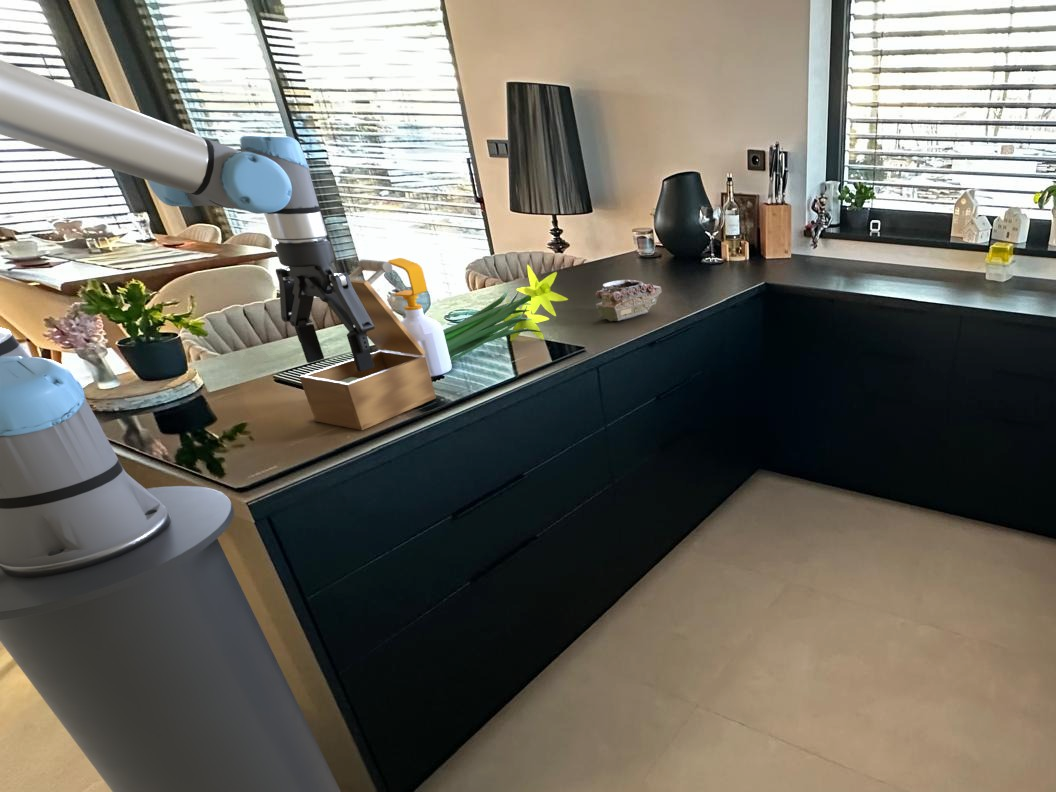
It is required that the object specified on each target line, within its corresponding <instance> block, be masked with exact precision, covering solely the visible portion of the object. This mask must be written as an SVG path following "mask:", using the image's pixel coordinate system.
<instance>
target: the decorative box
mask: <svg viewBox="0 0 1056 792" xmlns="http://www.w3.org/2000/svg"><path fill="white" fill-rule="evenodd" d="M662 291H663V290H662V287H661V286H658V285H655V284H653V283H648V284H646V283H644V282H643V281H641V280H638V279H637V280H636V279H618V280H613V281H608V282H605V283H603V284H602V289H601V290H597V291H595V295H594V296H595V298H596V299H598V300H601V302H598V303H596V304H595V306H596V309H597V311H598V313H599V316H600V318H601V319H603V320H608V321H609V322H613V321H615V322H619V321H623V320H629V319H632V318H635V317H638V316H641V315H644V314H648V313H649V310H650V308H651V307H652V306H655V305H656V304H657V300H658V298H659V296H660V294H662V293H663V292H662Z"/></svg>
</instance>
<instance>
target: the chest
mask: <svg viewBox="0 0 1056 792" xmlns="http://www.w3.org/2000/svg"><path fill="white" fill-rule="evenodd" d="M370 353H371V357H372V360H373V363H374V367H373V368H370V369H367V370H364V371H361V372H360V371H357V367H356V364H355V361H354V358H352V359H348V360H346V361H343V362H339V363H336V364H333V365H330V366H326V367H324V368H321V369H318V370H315V371H312V372H309V373H306V374H303V375H300V376H299V381H300V383H301V386H302V388H303V391H304V394H305V397H306V399H307V402H308V405H309V408H310V411H311V413H312V416H313V420H314V421H315V422H318V423H323V424H329V425H334V426H338V427H344V428H348V429H353V430H359V431H364V430H366V429H368V428H371V427H373V426H376V425H378V424H380V423H382V422H385V421H387V420H389V419H391V418H392V419H393V418H394V417H396V416H398V415H401V414H403V413H405V412H408V411H410V410H412V409H414V408H417V407H419V406H422V405H424V404H426V403H428V402H430V401H433V400H435V399H437V396H436V392H435V388H434V384H433V379H432V377H431V376H430V372H429V369H428V365H427V361H426V357H423V356H416V355H410V354H403V353H400V352H395V351H388V350H382V349H378V350H377V351H373V352H370ZM350 377H355V378H360V379H358V380H355V381H352V382H349V383H346V382H340V381H341V380H344V379H347V378H350Z"/></svg>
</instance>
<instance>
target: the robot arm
mask: <svg viewBox="0 0 1056 792" xmlns="http://www.w3.org/2000/svg"><path fill="white" fill-rule="evenodd" d="M0 136H4V137H7V138H10V139H13V140H17V141H20V142H22V143H23V142H24V143H26V144H30V145H34V146H36V147H38V148H43V149H46V150H49V151H53V152H56V153H59V154H61V155H65V156H69V157H71V158H75V159H78V160H82V161H85V162H88V163H91V164H94V165H97V166H100V167H103V168H107V169H109V170H110V169H111V170H113V171H117V172H120V173H122V174H126V175H129V176H133V177H135V178H139V179H143V180H145V181H146V182H147V183H148V185H149V187H150V189H151V190H152V192H153V194H154V195H155V197H156V198H157V199H158V200H159V201H161V202H162V203H163V204H165V205H167V206H168V207H189V208H194V207H200V206H201V207H203V206H205V207H206V206H209V207H210V206H212V207H220V208H223V209H225V208H226V209H234V210H239V211H246V212H249V213H252V214H258V215H261V214H262V215H263V216H264V219H265V222H266V225H267V228H268V232H269V235H270V237H271V238H272V239H274V240H276V241H275V243H274V244H273V246H274V249H275V251H276V254H277V257H278V258H277V259H278V261H279V263H280V264H281V265H282V266H284V267H281V268H276V269H275V274H276V277H277V279H278V288H279V305H280V317H281V321H283V322H284V323H287V322H288V323H289V324H290V325H291V326H292V327H294V330H295V333H296V336H297V339H298V341H299V343H300V346H301V349H302V352H303V354H304V358H305V361H306V363H307V364H312V363H315V362H318V361H321V360H325V355H324V353H323V350H322V347H321V344H320V341H319V337H318V335H317V332H316V328H315V325H314V324H313V320H312V319H310V317H311V313H312V308H313V303H314V298H319V300H320V301H322V302H324V303H326V304H327V305H328V307H329V308H330V309H331V311H332V312H333V314H335V316H336V317H337V318H338V319H339V321H340V322H341V323H342V325H343V326H344V327H345V328H346V330H347V334H346V337H347V340H348V345H349V348H350V350H351V354H352V357H353V359H354V361H355V364H356V367H357V371H360V372H361V371H364V370H367V369H370V368H373V367H374V363H373V360H372V357H371V353H372V352H371V345H370V343H369V338H368V337H367V335H366V333H367V331H370V330H373V329H374V328H375V327H374V324H373V323H372V321H371V319H370V317H369V315H368V314H367V312H366V310H365V308H364V307H363V305H362V303H361V301H360V299H359V298H358V296H357V294H356V292H355V290H354V289H353V287H352V284H351V281H350V277H349V275H350V274H348V273H347V272H341V273H335V272H334V271H333V269H332V266H331V265H332V264H333V263H334V262H335V261H336V257H335V254H334V251H333V248H332V245H331V241H330V240H328V239H326V237H327V236H328V231H327V229H326V225H325V222H324V219H323V215H322V213H321V208H320V204H319V202H318V198H317V194H316V191H315V188H314V187H315V186H314V183H313V180H312V179H313V178H312V177H311V173H310V172H311V171H310V166H309V164H308V162H307V159H306V157H305V153H304V151H303V148H302V146H301V144H300V142H299V141H298V140H297V139H295V138H294V137H291V136H284V135H283V136H282V135H241V136H240V137H239V144H240V146H239V148H236V149H235V148H233V147H231V146H228V145H225V144H222V143H221V142H218V141H215V140H211V139H208V138H205V137H203V136H201V135H199V134H196V133H193V132H190V131H188V130H186V129H182V128H180V127H178V126H175V125H172V124H170V123H167V122H164V121H162V120H160V119H157V118H154V117H151V116H149V115H147V114H143V113H141V112H139V111H136V110H133V109H131V108H128V107H125V106H122V105H120V104H117V103H114V102H112V101H110V100H107V99H104V98H102V97H99V96H96V95H93V94H91V93H88V92H85V91H83V90H81V89H78V88H75V87H72V86H70V85H67V84H65V83H62V82H60V81H57V80H54V79H52V78H49V77H46V76H43V75H42V74H39V73H36V72H33V71H31V70H28V69H26V68H23V67H20V66H18V65H15V64H12V63H9V62H7V61H4V60H2V59H0ZM332 292H334V293H332ZM364 323H365V324H364ZM85 395H86V393H85V391H84V387H83V386H82V385H81V383H80V382H79V381H78V380H77V379H76V377H74V375H73V373H72V372H71V371H70V369H68V367H67V366H65V365H63V364H62V363H60V362H57V361H55V360H52V359H49V358H44V357H37V356H30V355H29V354H28V352H27V351H26V350H25V349H24V348H23V346H22V345H21V344H20V342H19V341H18V340H17V339H16V337H15V336H14V334H13V333H12V332H11V331H10V330H9V329H6V328H2V327H0V568H1V569H2V571H3V572H4V573H5V574H8V575H11V576H15V577H43V576H51V575H57V574H63V573H68V572H72V571H76V570H80V569H84V568H88V567H91V566H94V565H98V564H101V563H104V562H106V561H109V560H112V559H115V558H117V557H120V556H122V555H124V554H127V553H129V552H131V551H133V550H135V549H137V548H139V547H141V546H143V545H145V544H146V543H148V542H150V541H151V540H153V539H154V538H156V537H157V536H158V535H160V534H161V533H162V532H163V531H164V530H165V529H166V528H167V527H168V525H169V523H170V520H171V518H170V515H169V514H168V512H167V510H166V508H165V506H164V505H163V504H162V503H161V502H160V501H159V500H158V499H157V498H156V497H154V496H153V495H152V494H151V493H150V492H148V491H147V490H146V489H147V488H145V487H144V486H143V485H141V484H140V483H139V482H137V481H136V480H135V479H134V478H133V477H131V476H130V475H129V474H128V473H127V472H126V471H125V468H124V467H123V465H122V464H121V462H120V460H119V457H118V456H117V454H116V452H115V450H114V448H113V446H112V445H111V443H110V440H109V439H108V437H107V436H106V433H105V432H104V429H103V428H102V426H101V424H100V422H99V421H98V419H97V417H96V415H95V413H94V411H93V409H92V407H91V405H90V403H89V402H88V400H87V398H86V396H85Z"/></svg>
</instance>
